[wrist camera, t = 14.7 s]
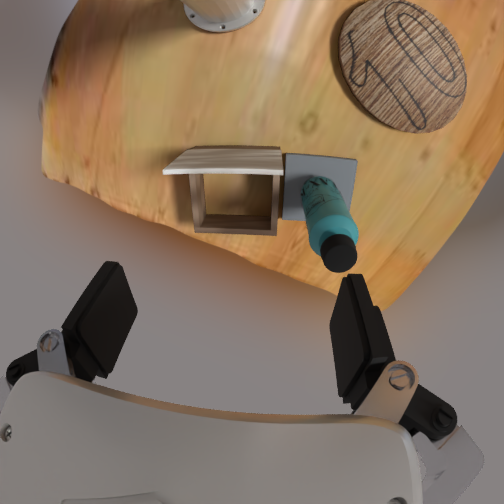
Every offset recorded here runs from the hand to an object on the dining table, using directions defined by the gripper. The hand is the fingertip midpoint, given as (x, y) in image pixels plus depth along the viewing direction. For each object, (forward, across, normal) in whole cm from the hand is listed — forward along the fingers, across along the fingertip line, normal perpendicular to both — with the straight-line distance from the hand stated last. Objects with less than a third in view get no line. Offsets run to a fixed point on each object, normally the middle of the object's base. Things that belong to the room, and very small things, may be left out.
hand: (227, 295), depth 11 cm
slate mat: (+36, -10, +9) cm, 39 cm away
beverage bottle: (+35, -10, +9) cm, 38 cm away
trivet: (+37, -24, -16) cm, 47 cm away
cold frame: (+36, +4, +9) cm, 38 cm away
